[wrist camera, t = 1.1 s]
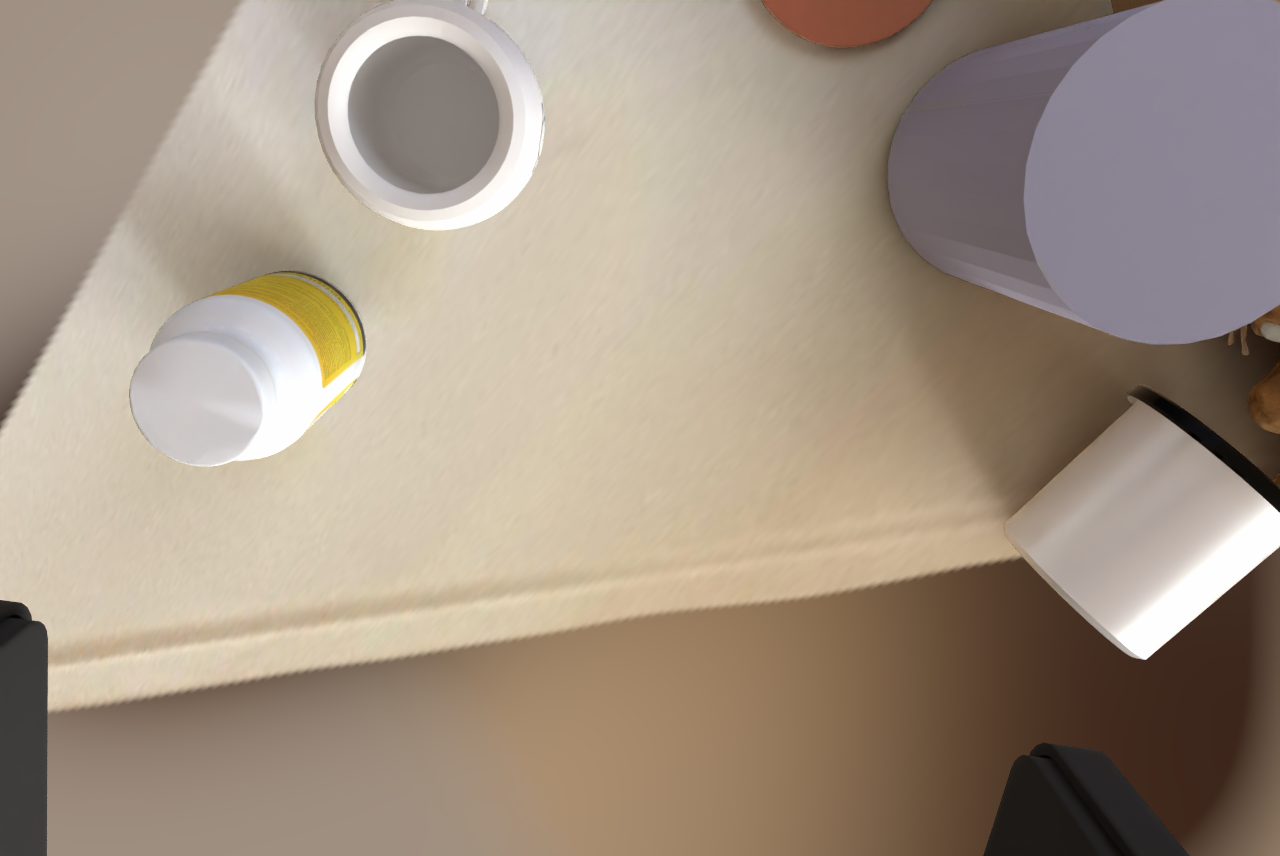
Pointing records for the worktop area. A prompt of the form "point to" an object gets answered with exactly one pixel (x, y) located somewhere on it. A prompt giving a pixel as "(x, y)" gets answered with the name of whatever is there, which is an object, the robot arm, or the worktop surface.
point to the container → (1108, 169)
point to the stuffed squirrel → (1276, 396)
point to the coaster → (845, 19)
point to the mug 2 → (1149, 524)
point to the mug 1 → (429, 113)
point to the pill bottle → (247, 369)
